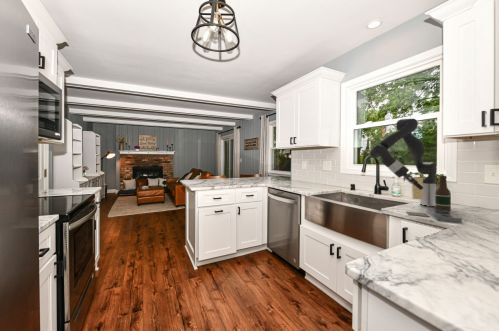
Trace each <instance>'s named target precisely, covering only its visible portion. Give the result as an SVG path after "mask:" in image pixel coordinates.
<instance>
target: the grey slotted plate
mask: <svg viewBox="0 0 499 331" xmlns="http://www.w3.org/2000/svg"><path fill="white" fill-rule="evenodd" d="M425 213H426V214H428V215H429V216H431V217H433V218H434V219H435V220H436V221H438V222H448V223H457V224H462V223H463V220H462V218H461V217H460V216H458V215H457V214H455V213H453V212H451V211H450V212H449V211H447V210H443V209H435V208H431V207H430V208H428V207H427V208H426V212H425Z"/></svg>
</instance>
